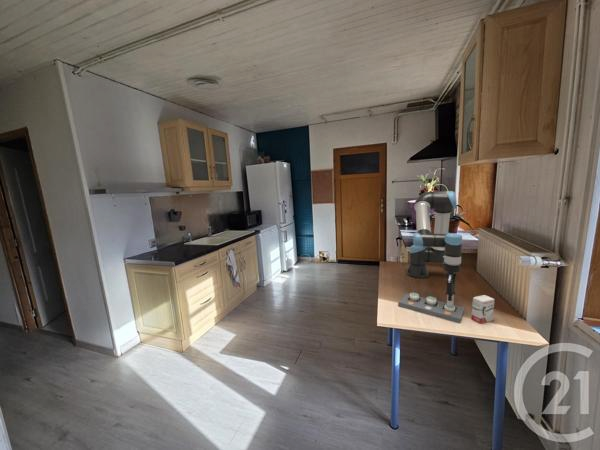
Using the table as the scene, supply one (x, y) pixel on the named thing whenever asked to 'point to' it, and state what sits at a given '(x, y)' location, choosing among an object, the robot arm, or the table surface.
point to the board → (432, 308)
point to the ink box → (482, 309)
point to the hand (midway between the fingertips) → (449, 305)
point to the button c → (450, 308)
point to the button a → (414, 296)
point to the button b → (431, 301)
